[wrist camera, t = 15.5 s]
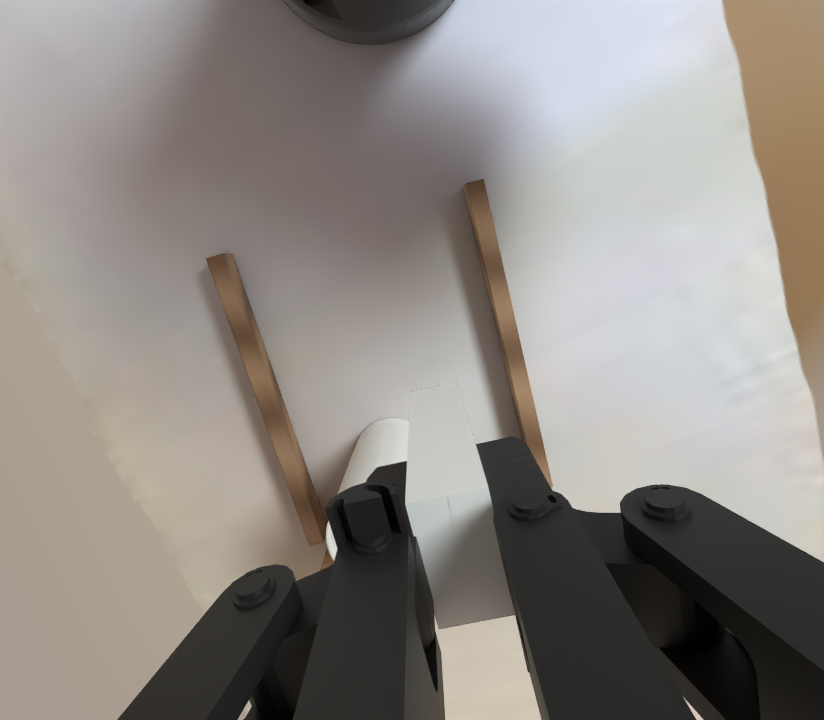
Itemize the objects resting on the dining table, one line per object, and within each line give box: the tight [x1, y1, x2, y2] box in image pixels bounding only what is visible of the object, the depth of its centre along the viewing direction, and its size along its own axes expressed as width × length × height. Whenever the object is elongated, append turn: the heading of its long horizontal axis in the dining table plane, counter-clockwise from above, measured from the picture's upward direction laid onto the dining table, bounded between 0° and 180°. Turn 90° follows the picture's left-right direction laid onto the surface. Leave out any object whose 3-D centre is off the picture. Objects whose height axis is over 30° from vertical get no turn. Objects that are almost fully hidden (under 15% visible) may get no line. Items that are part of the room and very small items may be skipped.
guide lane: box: [206, 179, 553, 546], centre depth 36 cm, size 24×20×2 cm
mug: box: [326, 418, 409, 561], centre depth 33 cm, size 10×7×12 cm, turn 112°
